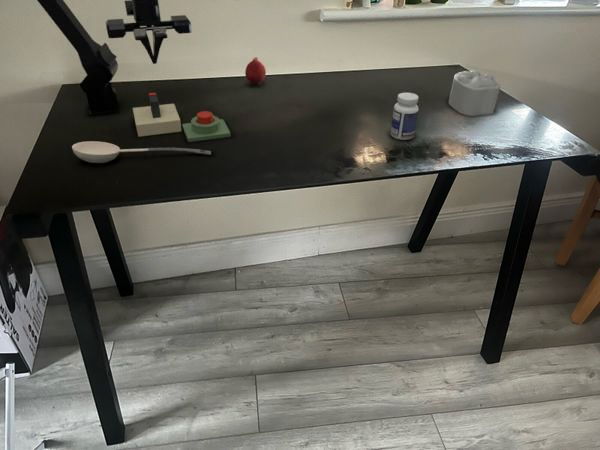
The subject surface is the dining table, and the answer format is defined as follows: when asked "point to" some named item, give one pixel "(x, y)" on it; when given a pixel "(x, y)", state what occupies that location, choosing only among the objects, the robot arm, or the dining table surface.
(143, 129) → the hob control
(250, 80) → the onion
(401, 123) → the pill bottle
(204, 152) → the ladle
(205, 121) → the button
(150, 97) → the hob knob
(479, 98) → the lumpy-topped squat cylinder
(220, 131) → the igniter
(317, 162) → the dining table surface
